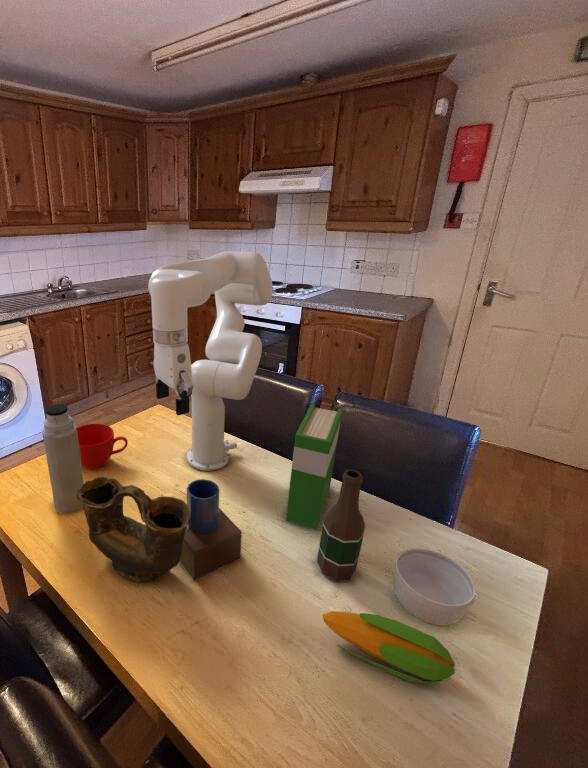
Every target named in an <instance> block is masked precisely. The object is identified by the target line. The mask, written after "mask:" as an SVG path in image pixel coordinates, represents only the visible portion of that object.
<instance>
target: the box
mask: <svg viewBox="0 0 588 768" xmlns="http://www.w3.org/2000/svg"><path fill="white" fill-rule="evenodd" d="M242 536H243V535H239V536H237V537H235V538H232V539H230V540H228V541H226V542H223V543H221V544H219V545H216V546H214V547H212V548H209V549H207V550H205V551H202V552H200V553H198V554H195V555H194V554H193V552H192V551H191V550H190V548H189V547H188V546H187V544H186V543H185V542H184V540H183V543H182V553H181V557H180V562H181V563H182V565H183V566H184V567H185V569H186V570H187V572H188V573H189V574H190V576H191V578H192V579H193V580H194V581H196V580H198V579H200V578H202V577H204V576H207V575H209V574H210V573H213V572H216V571H217V570H219V569H221V568H224V567H226V566H228V565H231V564H232V563H234V562H236V561H239V560H241V552H242V538H243V537H242Z"/></svg>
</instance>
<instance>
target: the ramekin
mask: <svg viewBox="0 0 588 768" xmlns="http://www.w3.org/2000/svg"><path fill="white" fill-rule="evenodd" d="M393 572H394V573H393V575H394V576H393V591H394V594H395V597H396V599H397V600H398V601H399V603H400V604H401V605H402V607H403V608H404V609H405V610H406V611H407V612H408V613H410V614H411V615H412V616H414V617H415V618H416V619H418V620H420V621H422V622H424V623H427V624H429V625H434V626H451V625H454V624H456V623H458V622H459V621H460V620H461V619H462V618H463V617H464V616H465V614H466V612H467V611H468V610H469V608H470V607H471V606H472V605H473V604H474V602H475V599H476V597H477V586H476V584H475V582H474V579H473V577H472V575H470V573H469V571H467V570H466V569H465V568H464V567H463V566H462V565H461V564H460V563H458V562H457V561H455V560H454V559H452V558H451V557H449V556H447V555H446V554H443V553H440V552H438V551H435V550H431V549H429V548H421V547H412V548H408V549H404V550H402V551H401V552H399V553H398V554H397V555H396V558H395V560H394V562H393Z"/></svg>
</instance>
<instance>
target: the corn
mask: <svg viewBox="0 0 588 768" xmlns="http://www.w3.org/2000/svg"><path fill="white" fill-rule="evenodd" d="M322 619H323V623H325V625H326V626H327V627H328V628H329V629H330V630H331V631H333V632H334V633H335V634H336V635H337V636H338V637H340V638H341V639H342V640H345V641H346V642H348V643H349V644H352V645H353V646H355V647H357V648H358V649H360V650H362V651H363V652H365V653H367V654H368V655H370V656H372V657H374V658H376V659H378V660H381V661H382V662H385V663H387V664H389V665H391V666H393V667H396V668H398V669H400V670H402V671H404V672H406V673H409V674H411V675H413V676H415V677H413V676H410V675H408V674H405V673H403V672H400V671H397V670H396V669H392V668H390V667H388V666H384V665H382V664H379V663H377V662H375V661H372V660H370V659H368V658H365V657H364V656H361V655H359V654H357V653H355V652H353V651H351V650H349V649H347V648H345V647H344V646H341V645H339V644H336V646H337V647H338V648H340V649H342V650H344V651H345V652H347V653H349V654H351V655H352V656H354V657H356V658H358V659H360V660H363V661H364V662H366V663H368V664H371V665H373V666H374V667H377V668H380V669H382V670H384V671H386V672H388V673H390V674H392V675H394V676H396V677H398V678H401V679H403V680H404V681H406V682H409V683H413V684H425V685H434V684H438V683H440V682H442V681H445V680H448V679H449V678H451V677H453V675H455V672H456V668H455V667H456V663H455V661H454V659H453V657H452V655H451V653H450V651H449V650H448V649H447V648H446V647H445V645H443V644H442V643H441V642H440V641H439V640H438V639H437V638H436V637H435V636H433V635H432V634H431V635H430V634H428V633H426V632H424V631H421V630H419V629H417V628H415V627H413V626H410V625H408V624H406V623H404V622H401V621H399V620H396V619H393V618H391V617H387V616H383V615H380V614H374V613H368V612H367V613H366V612H360V613H355V612H349V611H338V610H337V611H336V610H332V611H328V612H326V613H323V614H322ZM416 677H420V678H423V679H422V680H421V679H418V678H416Z"/></svg>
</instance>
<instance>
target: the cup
mask: <svg viewBox="0 0 588 768" xmlns="http://www.w3.org/2000/svg"><path fill="white" fill-rule="evenodd" d="M186 504H187V505H188V508H189V510H190V516H191V517H190V520H189V522H188V527H189V528H190V529H191V530H192V531H193V532H195V533H198V534H208V533H211V532H213V531H215V530H216V529H217V527H218V522H219V508H220V487H219V485H218V484H217V483H216V482H214V481H212V480H210V479H204V478H203V479H196V480H193V481H190V483H188V485H187V486H186Z"/></svg>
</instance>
